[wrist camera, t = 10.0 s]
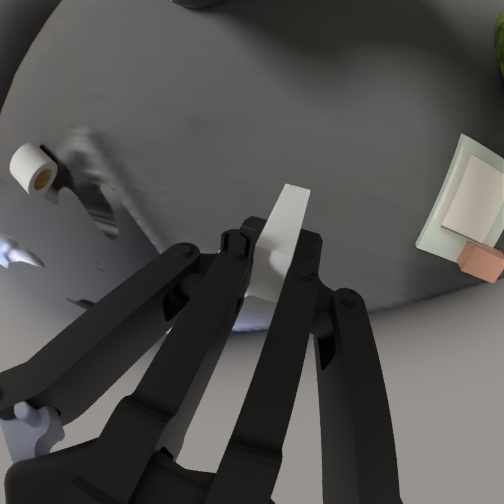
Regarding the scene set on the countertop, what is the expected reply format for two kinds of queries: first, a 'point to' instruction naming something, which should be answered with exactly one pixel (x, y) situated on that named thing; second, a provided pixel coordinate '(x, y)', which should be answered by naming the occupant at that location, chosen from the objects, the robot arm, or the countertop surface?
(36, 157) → the toilet paper
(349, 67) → the countertop surface
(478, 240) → the cream flat block
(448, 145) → the countertop surface
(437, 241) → the board
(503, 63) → the lettuce
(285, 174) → the countertop surface
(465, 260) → the pink rectangular block
